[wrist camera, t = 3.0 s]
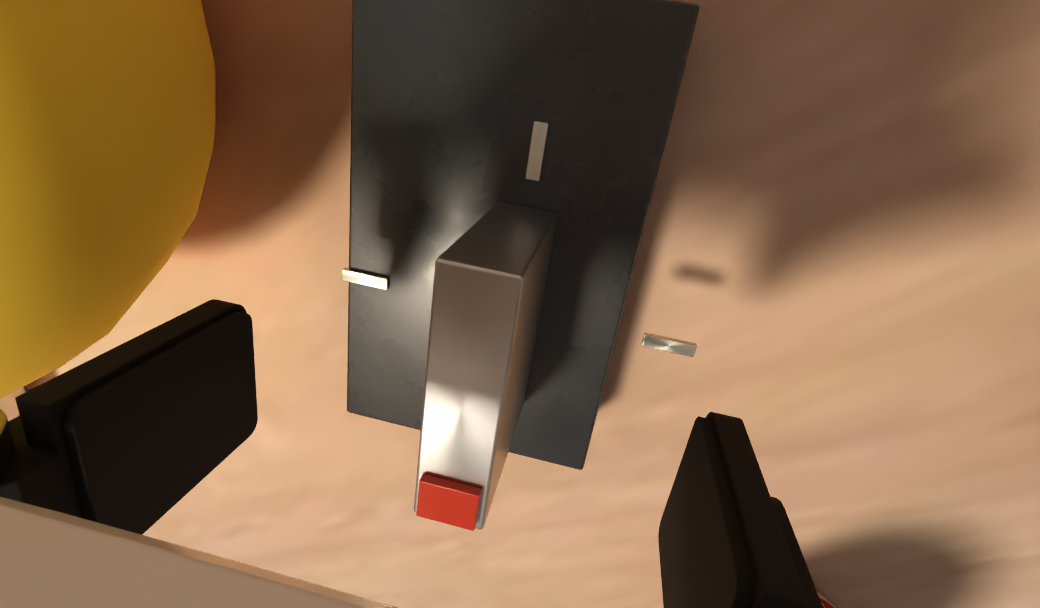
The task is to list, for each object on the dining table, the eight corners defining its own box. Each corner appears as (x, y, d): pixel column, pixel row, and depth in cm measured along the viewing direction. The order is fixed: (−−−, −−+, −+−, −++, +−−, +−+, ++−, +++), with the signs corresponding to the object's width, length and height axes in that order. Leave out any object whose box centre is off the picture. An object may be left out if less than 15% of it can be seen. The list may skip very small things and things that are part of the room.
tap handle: (498, 200, 14) (429, 262, 9) (558, 212, 13) (521, 282, 9) (473, 392, 16) (408, 520, 11) (523, 404, 16) (479, 540, 11)
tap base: (398, -23, 15) (344, -49, 12) (767, 31, 14) (804, 17, 11) (381, 369, 20) (340, 417, 17) (645, 432, 19) (648, 494, 16)
